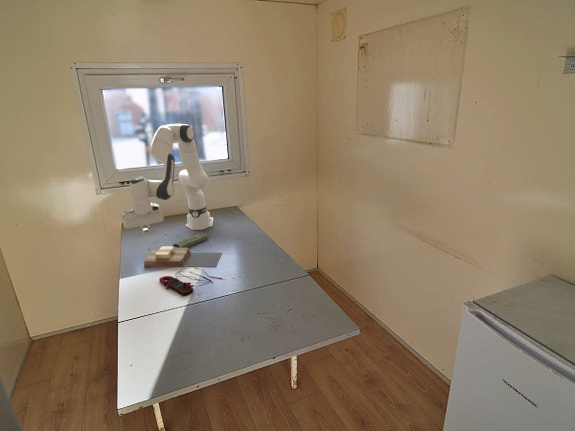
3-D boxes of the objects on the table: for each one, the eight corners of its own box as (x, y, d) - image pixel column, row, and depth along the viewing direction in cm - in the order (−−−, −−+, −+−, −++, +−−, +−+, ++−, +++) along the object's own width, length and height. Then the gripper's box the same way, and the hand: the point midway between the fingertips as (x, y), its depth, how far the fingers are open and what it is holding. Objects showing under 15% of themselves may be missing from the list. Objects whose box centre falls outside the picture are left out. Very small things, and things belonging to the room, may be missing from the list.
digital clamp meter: (184, 294, 153) (154, 275, 168) (185, 302, 155) (155, 283, 170) (224, 272, 170) (193, 257, 185) (225, 280, 172) (194, 265, 187)
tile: (162, 250, 195) (161, 246, 194) (174, 250, 195) (174, 246, 194) (155, 258, 186) (155, 254, 185) (168, 258, 185) (167, 254, 185)
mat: (190, 253, 199) (190, 252, 199) (221, 253, 198) (221, 252, 198) (182, 267, 184) (182, 266, 184) (215, 267, 183) (215, 266, 183)
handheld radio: (201, 236, 220) (167, 250, 202) (200, 231, 219) (166, 245, 201) (207, 239, 216) (173, 253, 198) (207, 234, 215) (173, 248, 197)
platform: (155, 253, 199) (154, 247, 198) (189, 253, 199) (189, 247, 197) (144, 267, 184) (143, 261, 183) (181, 267, 184) (180, 261, 183)
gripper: (122, 213, 172) (126, 238, 177) (163, 206, 184) (166, 229, 188) (119, 210, 177) (124, 234, 182) (159, 203, 188) (163, 226, 193)
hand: (145, 232), depth 185 cm, fingers closed
